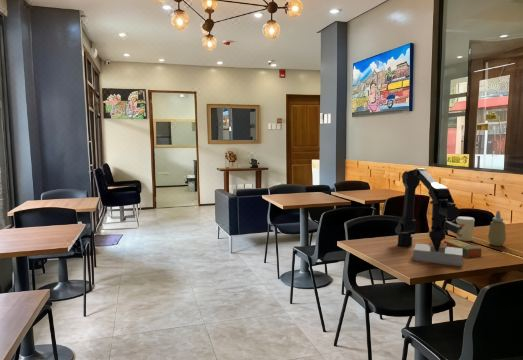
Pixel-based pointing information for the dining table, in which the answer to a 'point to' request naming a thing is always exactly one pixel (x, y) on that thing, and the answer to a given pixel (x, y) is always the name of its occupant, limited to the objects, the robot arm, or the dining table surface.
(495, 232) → the squeeze bottle
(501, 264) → the dining table surface
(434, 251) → the flap
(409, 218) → the robot arm
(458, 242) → the carton
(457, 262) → the box
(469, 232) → the coffee cup
